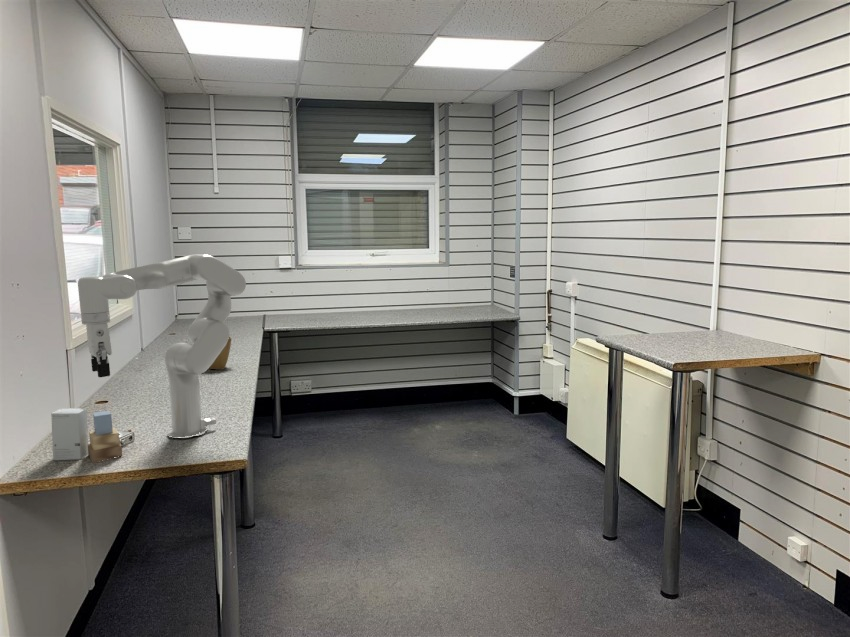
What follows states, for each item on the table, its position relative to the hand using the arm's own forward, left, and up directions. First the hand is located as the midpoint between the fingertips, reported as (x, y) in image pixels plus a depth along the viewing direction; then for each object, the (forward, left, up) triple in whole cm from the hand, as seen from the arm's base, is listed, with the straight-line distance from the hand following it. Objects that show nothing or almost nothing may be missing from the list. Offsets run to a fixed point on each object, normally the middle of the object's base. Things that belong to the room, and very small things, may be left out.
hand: (101, 373), depth 181 cm
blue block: (+1, 0, -19) cm, 19 cm away
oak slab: (+1, 0, -23) cm, 23 cm away
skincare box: (+9, -6, -26) cm, 28 cm away
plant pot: (-69, -102, -26) cm, 126 cm away
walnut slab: (+1, 0, -27) cm, 27 cm away
